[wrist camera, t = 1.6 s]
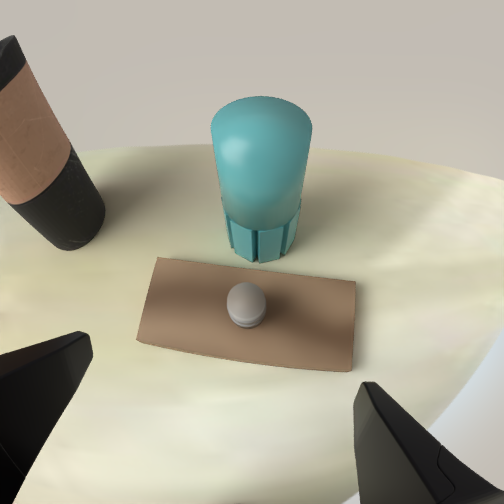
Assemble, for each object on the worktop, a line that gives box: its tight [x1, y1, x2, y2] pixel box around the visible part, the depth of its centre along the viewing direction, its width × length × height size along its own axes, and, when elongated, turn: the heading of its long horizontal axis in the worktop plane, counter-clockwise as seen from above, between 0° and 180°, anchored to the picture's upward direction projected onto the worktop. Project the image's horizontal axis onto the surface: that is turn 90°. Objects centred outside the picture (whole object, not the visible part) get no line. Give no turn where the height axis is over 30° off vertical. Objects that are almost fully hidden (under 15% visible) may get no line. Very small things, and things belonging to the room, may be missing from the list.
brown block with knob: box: [136, 257, 356, 372], centre depth 21 cm, size 7×16×4 cm, turn 82°
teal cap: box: [211, 96, 312, 263], centre depth 21 cm, size 6×6×12 cm
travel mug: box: [0, 35, 105, 251], centre depth 19 cm, size 8×8×20 cm
